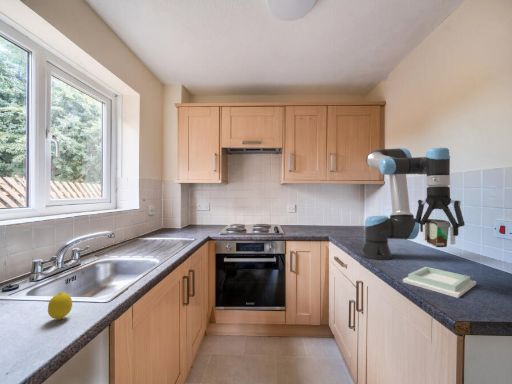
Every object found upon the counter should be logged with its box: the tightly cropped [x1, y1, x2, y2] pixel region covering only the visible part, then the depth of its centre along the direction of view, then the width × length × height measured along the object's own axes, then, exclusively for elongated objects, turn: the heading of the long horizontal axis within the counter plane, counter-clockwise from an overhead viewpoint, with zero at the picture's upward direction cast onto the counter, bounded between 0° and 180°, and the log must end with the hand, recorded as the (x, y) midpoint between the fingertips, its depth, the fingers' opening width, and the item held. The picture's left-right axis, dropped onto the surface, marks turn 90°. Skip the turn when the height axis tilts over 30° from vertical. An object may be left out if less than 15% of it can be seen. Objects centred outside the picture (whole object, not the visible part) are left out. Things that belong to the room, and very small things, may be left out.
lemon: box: [47, 292, 73, 321], centre depth 69 cm, size 6×6×8 cm
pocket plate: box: [402, 266, 477, 299], centre depth 96 cm, size 18×21×3 cm
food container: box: [426, 218, 452, 248], centre depth 95 cm, size 12×6×10 cm, turn 163°
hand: (438, 241), depth 96 cm, fingers closed on food container, 9 cm apart
